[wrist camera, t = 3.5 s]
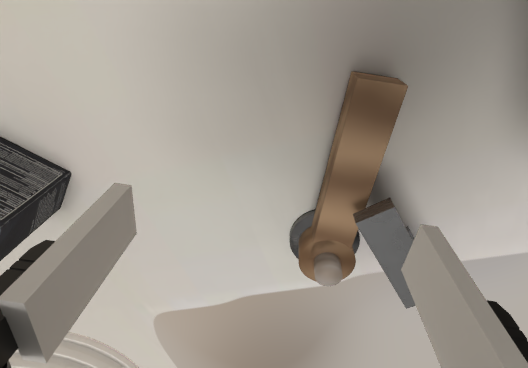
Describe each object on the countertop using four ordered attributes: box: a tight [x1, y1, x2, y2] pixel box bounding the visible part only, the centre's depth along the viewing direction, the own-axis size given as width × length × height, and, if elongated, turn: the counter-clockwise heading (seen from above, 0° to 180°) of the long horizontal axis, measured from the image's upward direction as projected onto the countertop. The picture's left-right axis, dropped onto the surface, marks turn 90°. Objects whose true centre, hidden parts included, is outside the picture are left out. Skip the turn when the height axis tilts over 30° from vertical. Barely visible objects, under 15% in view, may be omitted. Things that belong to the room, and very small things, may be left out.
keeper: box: [353, 198, 416, 308], centre depth 33 cm, size 12×4×8 cm, turn 32°
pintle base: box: [290, 210, 360, 259], centre depth 38 cm, size 8×8×1 cm
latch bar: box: [298, 71, 408, 286], centre depth 31 cm, size 22×6×5 cm, turn 172°
